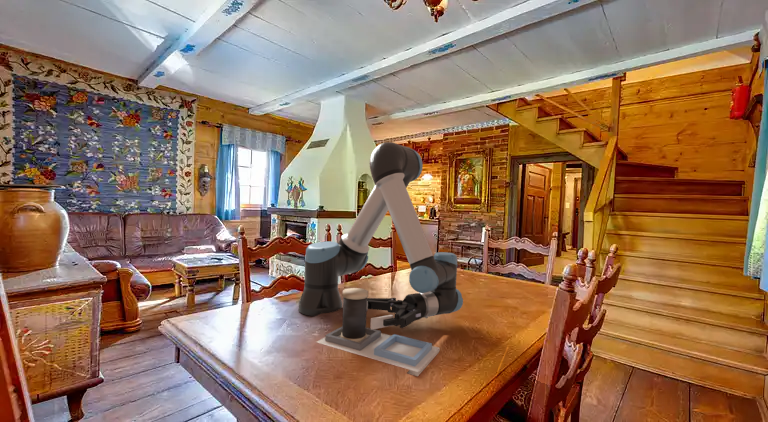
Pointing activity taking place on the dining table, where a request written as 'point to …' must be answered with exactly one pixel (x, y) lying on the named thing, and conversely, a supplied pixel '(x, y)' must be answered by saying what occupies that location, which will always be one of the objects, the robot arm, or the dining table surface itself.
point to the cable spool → (354, 314)
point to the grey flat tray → (386, 349)
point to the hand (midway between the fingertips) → (358, 315)
